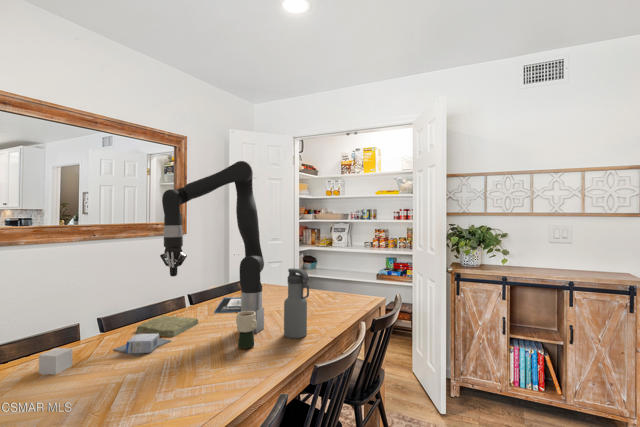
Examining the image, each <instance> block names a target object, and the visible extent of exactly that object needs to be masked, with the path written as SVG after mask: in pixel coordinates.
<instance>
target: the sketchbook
mask: <svg viewBox="0 0 640 427" xmlns="http://www.w3.org/2000/svg"><path fill="white" fill-rule="evenodd" d="M234 312H241V296H225V297H223V299H222V300H221V301H220V302H219V304H218V305H217V307H216V309H215V310H214V311H213V314H230V313H231V314H235V313H234Z"/></svg>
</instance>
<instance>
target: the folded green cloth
mask: <svg viewBox="0 0 640 427" xmlns="http://www.w3.org/2000/svg"><path fill="white" fill-rule="evenodd" d="M197 325H199V319H198V318H194V317H185V316H171V315H169V316H168V315H161V316H157V317H155V318H152V319H149V320H147V321H145V322H142V323H141V324H139V325H137V327H136V330H135V333H136V334H159V337H169V338H175V337H177V336H179V335H181V334H182V333H185V332H186V331H188V330H190V329H191V328H193V327H196V326H197Z"/></svg>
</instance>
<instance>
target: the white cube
mask: <svg viewBox="0 0 640 427" xmlns="http://www.w3.org/2000/svg"><path fill="white" fill-rule="evenodd" d="M71 366H72V367H73V348H69V347H68V348H67V347H65V348H63V347H54V348H53V349H51V350H48V351H45V352H43V353H40V354H39V355H38V374H39V375H48V374H52V376H53V375H54V376H57V375H58V373H59V374H61V373H63V372H64V371H66V370H68V369H70V368H72V367H71ZM69 367H70V368H69ZM67 368H68V369H67ZM65 369H66V370H65ZM63 370H64V371H63ZM60 372H61V373H60ZM56 374H57V375H56Z"/></svg>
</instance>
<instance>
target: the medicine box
mask: <svg viewBox="0 0 640 427" xmlns="http://www.w3.org/2000/svg"><path fill="white" fill-rule="evenodd" d="M159 338H160V336H159V334H146V333H136V334H135V335H133V337H130V339H128V340H127V341H126V344H127V345H126V352H127V353H144V354H146V353H147V354H148V353H152V352H153V351H155V349H156V347H157V346H158V345H159ZM157 348H158V347H157ZM127 353H126V354H127Z"/></svg>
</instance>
